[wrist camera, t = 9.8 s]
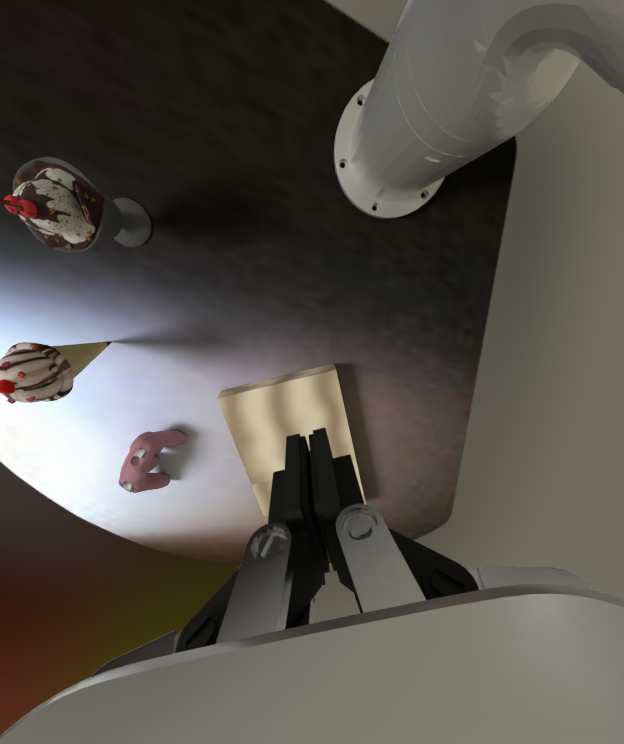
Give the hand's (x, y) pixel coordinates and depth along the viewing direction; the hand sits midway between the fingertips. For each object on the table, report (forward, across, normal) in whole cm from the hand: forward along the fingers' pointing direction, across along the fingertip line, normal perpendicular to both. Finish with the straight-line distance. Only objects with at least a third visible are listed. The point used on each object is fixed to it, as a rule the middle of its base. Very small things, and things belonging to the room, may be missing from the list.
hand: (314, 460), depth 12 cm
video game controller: (+27, +25, +13) cm, 39 cm away
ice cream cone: (+27, +24, -4) cm, 37 cm away
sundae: (+27, +16, -16) cm, 35 cm away
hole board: (+27, +5, +18) cm, 33 cm away
